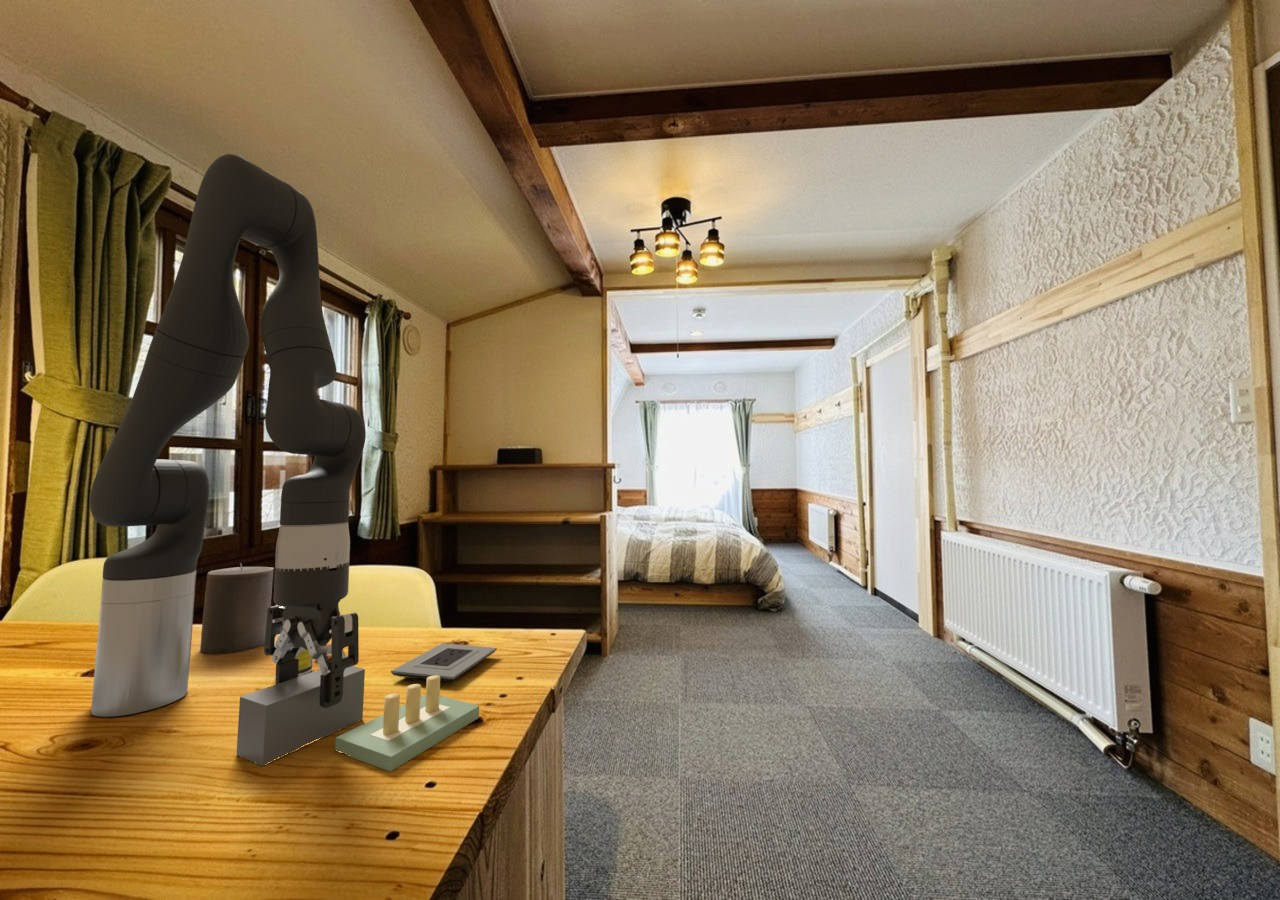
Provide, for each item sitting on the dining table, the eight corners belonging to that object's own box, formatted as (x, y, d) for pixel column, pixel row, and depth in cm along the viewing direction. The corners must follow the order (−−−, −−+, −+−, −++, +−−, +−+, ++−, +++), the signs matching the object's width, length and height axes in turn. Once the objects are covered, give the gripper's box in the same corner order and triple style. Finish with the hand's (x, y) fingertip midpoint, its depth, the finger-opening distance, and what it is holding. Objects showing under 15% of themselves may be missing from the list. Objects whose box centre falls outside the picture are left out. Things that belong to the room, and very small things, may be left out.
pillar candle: (211, 658, 83) (218, 569, 84) (192, 647, 88) (199, 563, 89) (277, 643, 91) (283, 562, 92) (256, 634, 96) (262, 557, 97)
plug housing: (236, 755, 54) (240, 696, 54) (337, 711, 64) (339, 662, 64) (262, 766, 52) (266, 705, 52) (362, 719, 62) (364, 669, 62)
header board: (335, 751, 55) (337, 701, 55) (428, 704, 66) (429, 662, 67) (390, 771, 51) (392, 717, 51) (478, 717, 63) (480, 674, 63)
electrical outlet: (452, 691, 72) (453, 674, 72) (390, 684, 74) (391, 668, 74) (496, 660, 84) (496, 646, 85) (442, 655, 87) (442, 641, 87)
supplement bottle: (268, 676, 75) (271, 621, 76) (299, 666, 80) (302, 614, 80) (288, 681, 73) (291, 625, 74) (319, 670, 78) (321, 617, 78)
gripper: (245, 562, 59) (237, 700, 57) (319, 569, 53) (313, 724, 52) (309, 554, 65) (304, 678, 64) (381, 560, 60) (377, 696, 58)
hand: (308, 698), depth 58 cm, fingers open, 8 cm apart
